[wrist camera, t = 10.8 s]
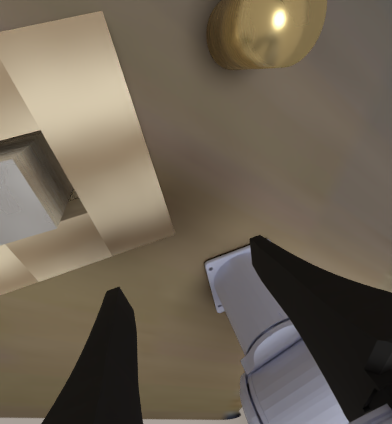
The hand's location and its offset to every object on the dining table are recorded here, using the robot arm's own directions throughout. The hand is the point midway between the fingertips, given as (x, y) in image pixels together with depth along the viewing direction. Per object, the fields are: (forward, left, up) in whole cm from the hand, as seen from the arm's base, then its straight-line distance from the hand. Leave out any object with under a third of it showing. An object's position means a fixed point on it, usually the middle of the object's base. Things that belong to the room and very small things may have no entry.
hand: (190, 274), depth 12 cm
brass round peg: (+10, -8, -9) cm, 16 cm away
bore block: (+5, +8, -9) cm, 13 cm away
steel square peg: (+5, +8, -10) cm, 14 cm away
